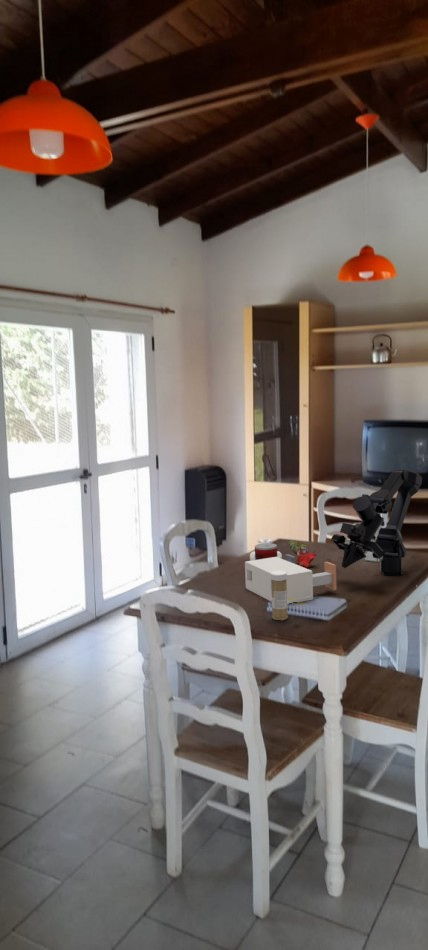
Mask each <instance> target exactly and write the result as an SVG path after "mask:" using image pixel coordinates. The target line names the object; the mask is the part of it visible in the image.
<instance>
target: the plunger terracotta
mask: <svg viewBox="0 0 428 950" xmlns="http://www.w3.org/2000/svg"><path fill="white" fill-rule="evenodd" d="M323 564H324V568H323V569H324V571H323V572H317V573H312V575H313V588H314V587H319V586H323V585H324V587H325V588H327V589H330V590H332V591H336V590H337V565H336V564H334V563H332V562H329V561H324V562H323Z"/></svg>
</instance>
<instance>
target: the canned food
mask: <svg viewBox="0 0 428 950" xmlns="http://www.w3.org/2000/svg"><path fill="white" fill-rule="evenodd" d="M254 551H255V560H259V559H265V558H272V557H277V551H278V546H277V544H276V543H273V542H272V543H262V544H261V543H258V544H255V545H254Z"/></svg>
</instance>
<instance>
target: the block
mask: <svg viewBox="0 0 428 950" xmlns="http://www.w3.org/2000/svg"><path fill="white" fill-rule="evenodd" d="M296 564H297V563H296ZM296 564H294V563H291V562H289V561H286V560H285V558H284V559H283V558H282V559H281V558H279V557H272V558H265V559H259V560H252V561H250V560H247V561H244V570H245V571H244V574H245V576H244V577H245V580H244V581H245V589H247V590H248V591H250V592H252V593H254V594H256V595H258V596H259V597H261V598H263V599H265V600H267V601H269V602H271V603H272V581H271V572H273V571H285V572H286V573H287V580H286V585H287V599H293V598H300V597H306V596H312V597H307V598H301V599H296V600H291V601H290V602H297V603H301V602H306V601H312V600H314V587H313V575H312V574H313V570H311V569H309V568H304V567H301V566H300V564H298V565H296Z"/></svg>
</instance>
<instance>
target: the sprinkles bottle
mask: <svg viewBox="0 0 428 950" xmlns="http://www.w3.org/2000/svg"><path fill="white" fill-rule="evenodd" d="M286 580H287V573H286V572H285V571H273V572H271V581H272V602H271V610H272V611H271V612H272V613H271V614H272V616H271V618H272V619H273V620H276V621H285V620H287V619H288V618H289V616H288V604H287V585H286Z"/></svg>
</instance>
